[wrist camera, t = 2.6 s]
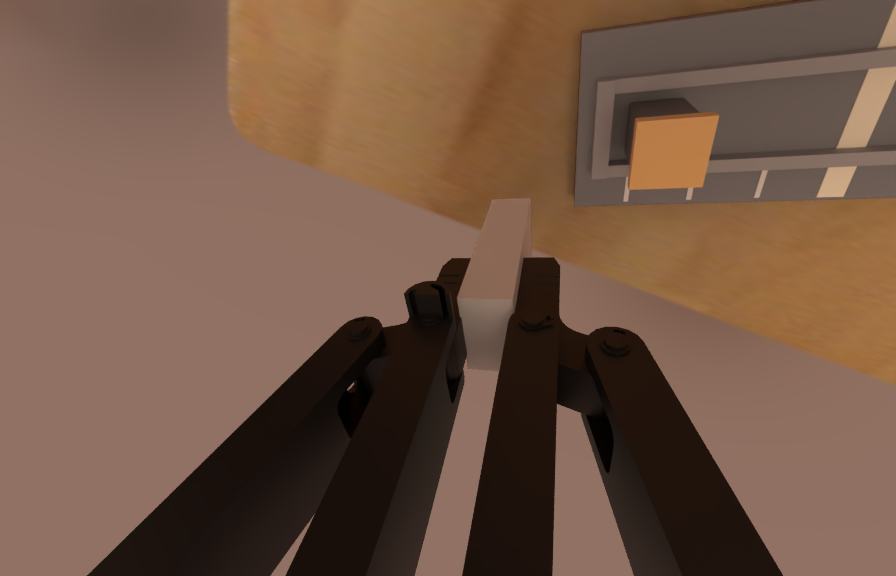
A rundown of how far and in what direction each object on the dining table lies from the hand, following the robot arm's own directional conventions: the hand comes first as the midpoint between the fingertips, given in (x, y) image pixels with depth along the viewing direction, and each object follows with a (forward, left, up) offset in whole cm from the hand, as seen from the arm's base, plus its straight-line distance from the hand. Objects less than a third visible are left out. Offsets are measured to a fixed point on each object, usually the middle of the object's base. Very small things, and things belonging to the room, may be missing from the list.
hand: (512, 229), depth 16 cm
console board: (-14, 0, -16) cm, 22 cm away
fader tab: (-7, 0, -14) cm, 16 cm away
